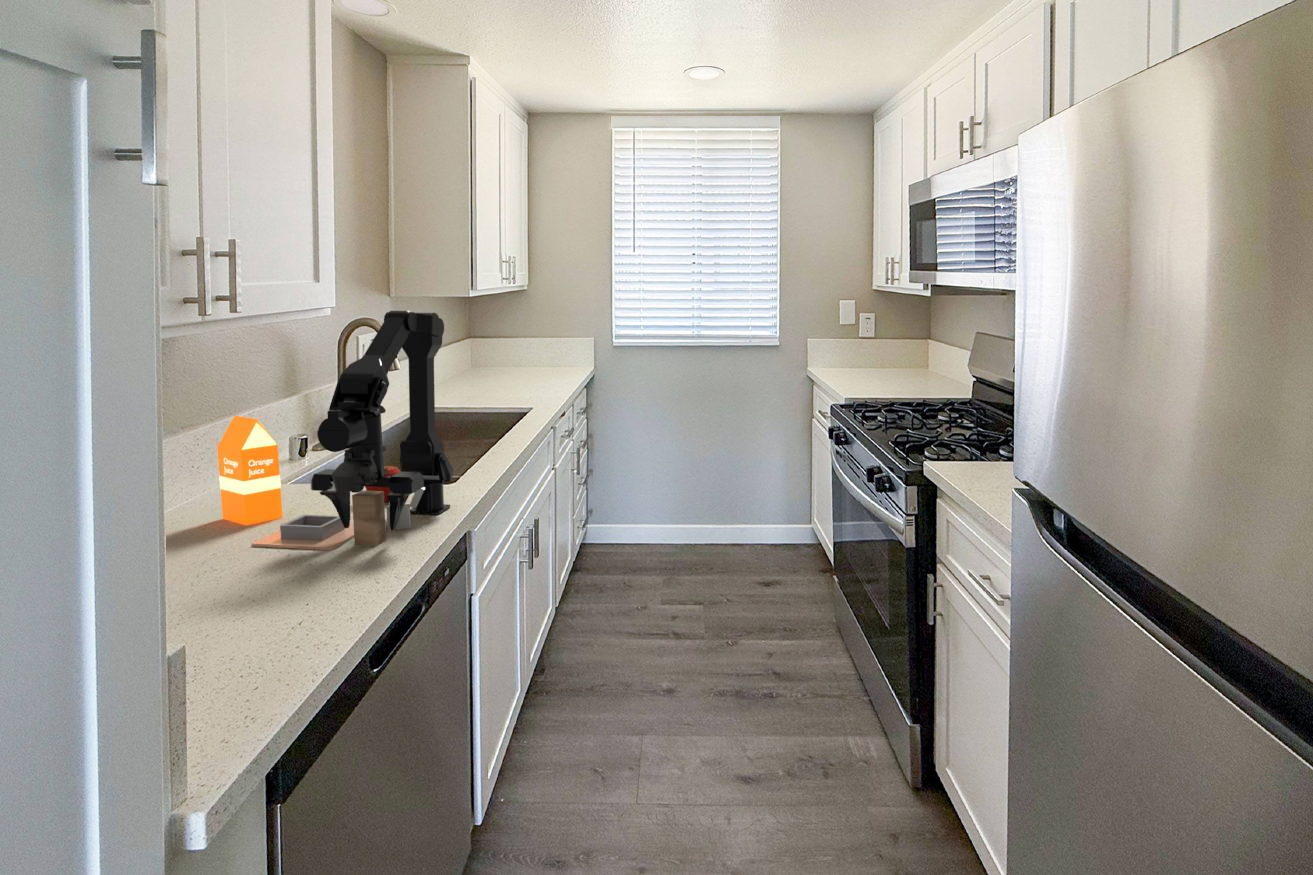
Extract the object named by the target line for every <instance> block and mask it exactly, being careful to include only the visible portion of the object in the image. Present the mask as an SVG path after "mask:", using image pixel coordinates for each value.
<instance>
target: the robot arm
mask: <svg viewBox="0 0 1313 875" xmlns="http://www.w3.org/2000/svg"><path fill="white" fill-rule="evenodd" d="M444 332H445V323H444V320H443V319H442V318H441V317H440V316H439V315H438V313H437V312H415V311H411V310H390V311H387V312H385V314H384V317H383V323H382V325H381V326H380V328H379V329H378V331H377V333H375V335H374V337H373V339H372V341H371V343H369V346H368V347H367V349H366V351H365V353H364V354H363V355H362V357H361V358H359V359H357V360H355V361H353V362H351V363H350V364H348V366H346V367H345V369H344V370H343V371H342V372H341V374H340V375H339V378H338V379H337V381H336V382H337V383H336V386H335V389H334V392H333V396H332V398H331V402H330V404H329V408H328V410H327V411H326V412H327V418H325V419H324V420H323V421H321V423H319V424H320V425H319V426H318V430H317V431H316V435H317V440H318V441H319V444H320V445H321V447H322V448H324V449H325V450H326V451H329V452H332V453H337V452H341V451H344V454H343V456H344V458H343V462H341V463H340V464H338V466H337V467H336V468H334V469H333V468H331V469H330V468H325V469H324V470H320V471H318V472H316V473H313V475H312V476H311V478H310V490H311V491H318V492H319V494H320V495H321V496H324V497H326V498H327V499H329V500H330V501H331V503H332V504H333V506H334V508H335V510H336V512H337V514H338V515H337V516H339V517H340V519H341V521H342V523H343V526H344V528H349V526H350V524H351V493H354V494H356V493H358V492H360V491H363V490H364V488H365V486H371V487H389V489H390V490H391V491H392V493H390V494H388V495H387V498H388V500H389V502H388V503H389V505H390V528H391V529H390V531H394V530H396V529H395V528H396V526H397V523H398V520H399V517H400V515H401V512H402V509H403V507H404V505H405V504H406V503H407V500H408V499H409V497H410V495H412V494H413V493H414V494H415V492H416V491H417V490H419V489H421V488H423V487H425V490H424V492H423V494H422V496H421V498H420V501H419V503H418V505H417V507H416V509H415V508H412V507H411V508H410V514H420V515H421V514H423V515H429V514H430V515H440V514H441V513H443V512H445V511H446V510H448V509H450V507H451V504H445V501H444V500H445V498H444V484H445V483H450V482H452V480H453V477H454V468H453V466H452V464H451V463H450V461H449V459H448V458H447V456H446V454H445V446H444V443H443V440H442V439H441V438H440V436H439V434H438V433H437V432H436V431H437V430H436V410H435V409H436V407H435V406H436V405H435V402H436V401H435V398H436V397H435V357H436V355H437V353H438V352H439V350H440V349H441V347H442V345H443V335H444ZM401 349H402V350H403V351H404V353H405V355H406V357H407V358H408V395H409V396H408V401H409V403H408V405H409V407H408V408H409V433H408V434H407V435H406V438H405V439H404V440H401V442H400V445H399V448H400V449H399V451H400V452H399V453H400V456H399V467H400V471H401V472H400V473H397V474H395V475H393V476H384V475H385V474H387V468H384V466H385V465H384V452H387V445H385V444H383V431H382V430H383V429H382V428H383V427H382V414H385V413H386V408H385V407H384V406H383V405H381V404H382V402H383V400H384V399H385V397H386V395H387V393H388V389H389V386H390V381H389V376H388V374H389V371H390V369H391V367H392V366H393V363H394V362H395V360H396V359H397V356H398V355H399V353H400V351H401ZM375 481H377V482H375Z"/></svg>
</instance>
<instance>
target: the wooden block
mask: <svg viewBox="0 0 1313 875" xmlns="http://www.w3.org/2000/svg"><path fill="white" fill-rule="evenodd" d="M351 499H352V500H351V501H352V519H353V525H354V538H353V539H354V546H362V547H377V546H379V545H381V544H383V543H384V542H387V530H386V529H387V527H386V526H387V525H386V509H385V508H386V507H385V502H384V491H366V490H364V489H363V490H362V491H360V492H357V493H354V494H352V495H351Z"/></svg>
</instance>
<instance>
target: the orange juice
mask: <svg viewBox="0 0 1313 875" xmlns="http://www.w3.org/2000/svg"><path fill="white" fill-rule="evenodd" d="M232 417H233V418H232V419H231V421H230V422H229V425H228V426H227V429H226V430H225V432H224V433H223V436H221V439H220V441H219V443H218V445H216V448H217V450H216V452H217V460H218V461H217V462H218V478H219V489H220V499H221V502H220V503H221V512H222V520H226V521H230V522H232V523H238V524H239V525H244V526H250V525H255V524H259V523H265V522H268V521H273V520H277V519H278V520H279V519H282V518H283V504H282V490H281V489H282V487H281V486H282V484H281V474H280V473H281V472H280V461H279V460H280V459H279V444H278V443H277V442H276V441H275V440H274V438H273V437H272V436H271V435H270V433H269V432H268V431H267V430H266V428H265V426H264V425H263V424H262V423H261V422H260V420H258V419H257V418H253V417H245V416H239V415H233V416H232Z"/></svg>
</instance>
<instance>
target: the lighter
mask: <svg viewBox="0 0 1313 875" xmlns="http://www.w3.org/2000/svg"><path fill="white" fill-rule="evenodd" d="M424 490H425V487H423V488H421V489H419V490H417V491H416V492H415V494H414V495H413V496H412V498H411V501H410V503H407V504H406V503H405V505H404V507H403V509H402V512H401V515H400V517H399V520H398V523H397V526H396V528H395V530H400V529H401V530H403V529H404V530H405V529H411V526H412V524H411V523H412V522H411V513H410V509H412V508H415V509H416V507H417V505H418V503H419V501H420V498H421V496H422V494H423V492H424ZM385 508H386V509H385V511H386V526H387V527H386V529H387V530H391V528H390V504H387V505H386V507H385Z"/></svg>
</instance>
